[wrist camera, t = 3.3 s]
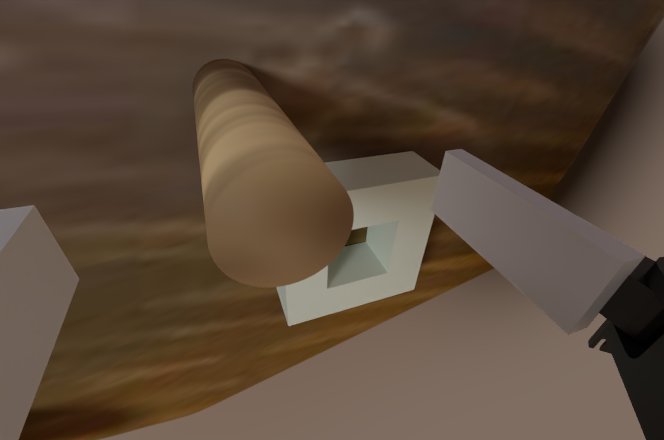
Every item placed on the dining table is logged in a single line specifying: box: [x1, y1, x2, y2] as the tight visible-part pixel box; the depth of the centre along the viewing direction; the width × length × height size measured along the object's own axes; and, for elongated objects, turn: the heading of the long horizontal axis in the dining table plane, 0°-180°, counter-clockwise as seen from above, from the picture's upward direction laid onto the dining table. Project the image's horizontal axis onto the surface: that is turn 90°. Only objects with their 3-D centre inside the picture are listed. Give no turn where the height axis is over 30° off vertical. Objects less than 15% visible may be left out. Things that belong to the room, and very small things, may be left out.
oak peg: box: [193, 59, 354, 287], centre depth 15 cm, size 4×4×16 cm
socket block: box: [277, 151, 440, 326], centre depth 30 cm, size 14×14×5 cm
